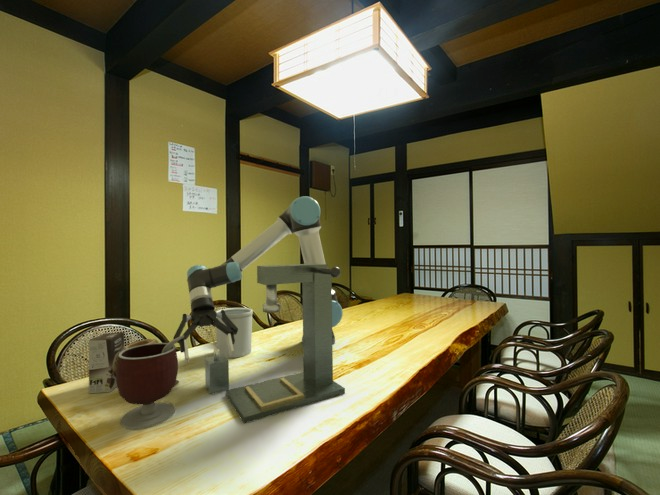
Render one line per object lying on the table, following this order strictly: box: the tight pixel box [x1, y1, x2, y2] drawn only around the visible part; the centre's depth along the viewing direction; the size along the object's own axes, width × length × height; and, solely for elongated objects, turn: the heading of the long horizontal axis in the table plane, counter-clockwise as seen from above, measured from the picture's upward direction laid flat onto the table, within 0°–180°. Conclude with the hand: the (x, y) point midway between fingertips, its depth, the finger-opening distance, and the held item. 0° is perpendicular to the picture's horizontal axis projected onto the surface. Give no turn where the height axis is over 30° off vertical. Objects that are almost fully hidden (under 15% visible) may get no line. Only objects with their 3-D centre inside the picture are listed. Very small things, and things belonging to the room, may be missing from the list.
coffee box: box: [88, 331, 125, 394], centre depth 101 cm, size 9×6×16 cm
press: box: [225, 263, 346, 424], centre depth 91 cm, size 30×26×38 cm
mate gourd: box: [116, 334, 184, 431], centre depth 83 cm, size 16×14×20 cm
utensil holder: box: [215, 307, 254, 359], centre depth 133 cm, size 15×15×18 cm
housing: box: [204, 347, 230, 395], centre depth 100 cm, size 6×7×12 cm
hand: (210, 356), depth 102 cm, fingers open, 13 cm apart
